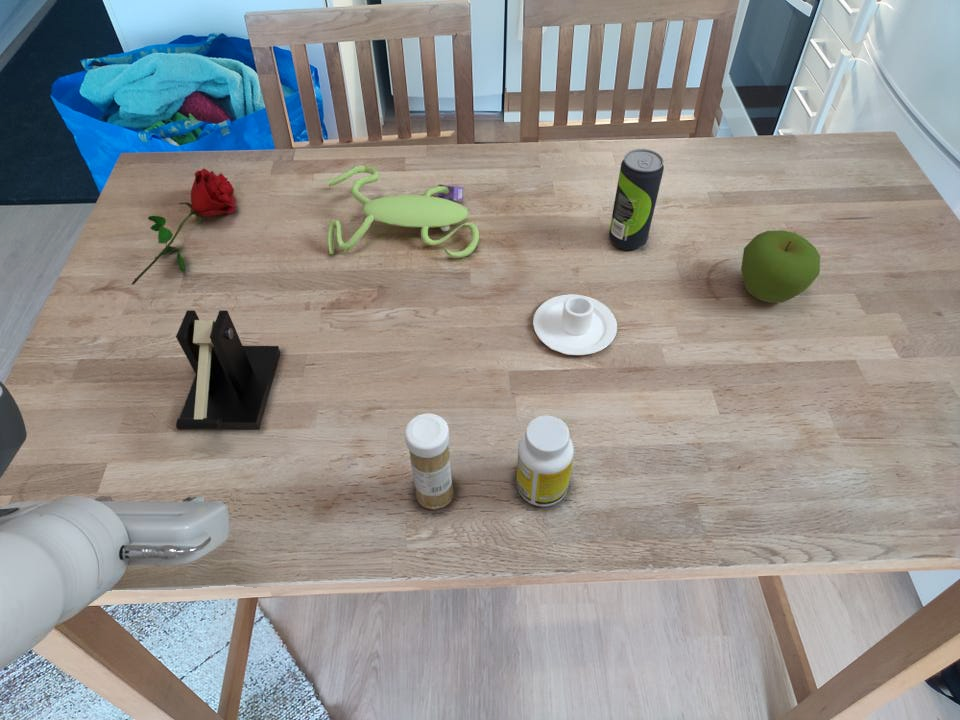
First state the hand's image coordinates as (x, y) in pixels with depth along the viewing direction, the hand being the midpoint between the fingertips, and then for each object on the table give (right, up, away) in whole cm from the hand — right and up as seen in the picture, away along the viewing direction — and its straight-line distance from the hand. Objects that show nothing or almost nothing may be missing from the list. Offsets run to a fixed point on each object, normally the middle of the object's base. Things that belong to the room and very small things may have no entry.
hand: (151, 503), depth 67 cm
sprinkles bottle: (+28, -1, +11) cm, 30 cm away
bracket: (0, +11, +21) cm, 24 cm away
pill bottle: (+41, 0, +11) cm, 43 cm away
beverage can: (+58, +34, +41) cm, 78 cm away
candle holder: (+47, +19, +28) cm, 58 cm away
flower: (-13, +34, +41) cm, 55 cm away
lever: (0, +13, +13) cm, 18 cm away
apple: (+77, +25, +32) cm, 87 cm away
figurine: (+20, +38, +44) cm, 61 cm away
